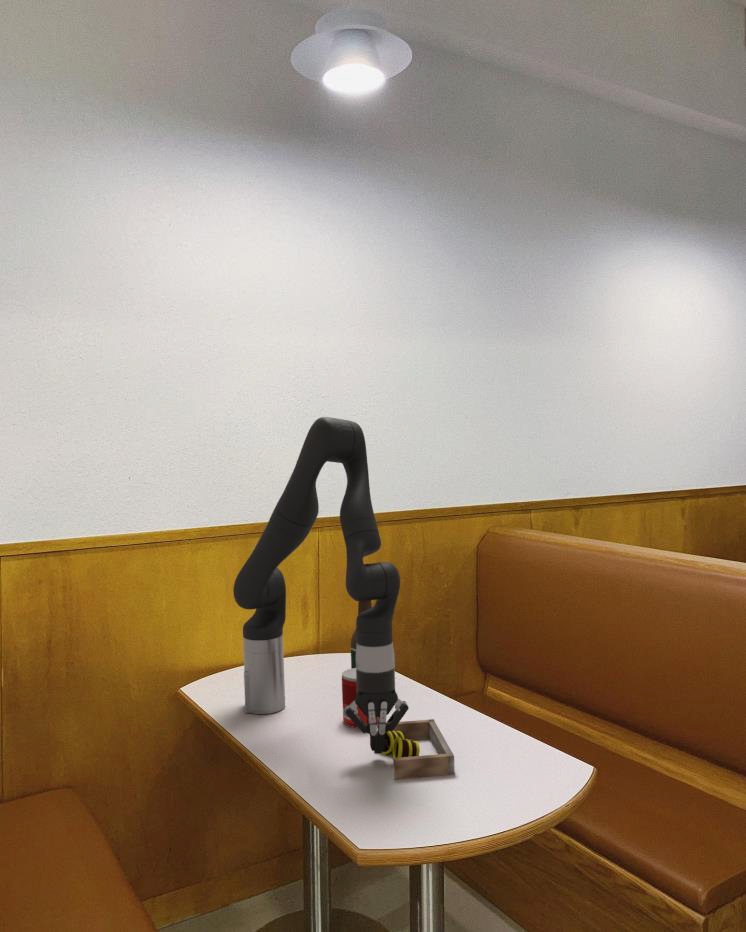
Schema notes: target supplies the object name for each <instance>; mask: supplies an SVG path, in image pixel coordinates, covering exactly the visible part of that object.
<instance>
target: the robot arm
mask: <svg viewBox="0 0 746 932" xmlns="http://www.w3.org/2000/svg"><path fill="white" fill-rule="evenodd" d="M303 441H304V442H303V444H302V446H301V449H300V452H299V455H298V458H297V461H296V463H295V466H294V468H293V471H292V472H291V475H290V476H289V479H288V482H287V484H286V486H285V488H284V490H283V492H282V494H281V496H280V498H279V499H278V501H277V503H276V505H275V506H274V509H273V510H272V513H271V515H270V518H269V520H268V521H267V524H266V526H265V528H264V529H263V532H262V533H261V536H260V537H259V539H258V541H257V543H256V545H255V547H254V549H253V551H252V552H251V553H250V555H249V557H248V558H247V560H246V562H244V564H243V566H242V567H241V568H240V570H239V572H238V574H237V576H236V577H235V580H234V583H233V590H232V591H233V598H234V600H235V603H236V604H237V605H238V607H240V608H242V609H243V610H255V611H254V613H253V615H251V617H250V618H248V620H247V621H245V622H244V624H243V626H242V636H243V637H242V640H243V641H242V642H243V643H242V645H243V666H244V667H243V668H244V669H243V670H244V671H243V683H244V685H243V687H244V689H243V690H244V712H245V714H254V715H268V714H274V713H278V712H280V711H282V710H283V709H284V708H285V707H286V690H285V686H286V685H285V683H286V682H285V662H284V661H285V660H284V658H285V657H284V656H285V655H284V631H283V629H284V625H285V622H286V618H287V617H286V616H287V615H286V614H287V612H286V611H287V609H286V607H287V588H286V580H285V577H284V574H283V573H282V571H281V570H280V569H279V567H278V566H280V565H281V564H282V563H283V561H285V560H286V559H287V558H288V557H290V555H291V554H293V552H294V551H295V550H297V549H298V548H299V546H300V545H302V543H304V541H305V540H306V539H307V537H308V535H309V534H310V532H311V529H312V527H313V526H314V524H315V522H316V520H317V518H318V515H319V512H320V511H319V509H320V508H319V507H320V505H319V499H318V498H319V497H318V492H317V480H318V477H319V475H320V472H321V470H322V468H323V467H324V465H325V464H326V463H327V462H329V463H337V464H339V463H340V464H342V466H343V468H344V471H345V475H346V488H345V491H344V492H345V493H344V495H343V498H342V502H341V505H340V508H339V521H340V527H341V531H342V536H343V540H344V543H345V544H344V545H345V550H346V570H345V589H346V591H347V594H348V596H349V597H350V598H351V599H353V601H355V602H359V601H360V602H361V601H369V600H371V601H375V600H376V601H375V603H374V605H372V608H371V609H369V610H366V611H364V612H362V613H360V614H359V615H358V614H357V616H356V620H355V628H356V629H355V630H356V635H357V647H356V680H357V692H356V695H355V697H354V700H355V701H354V702H352V703H351V704H350V705H346V706H345V712H346V714H347V716H348V717H349V718H350V719H351V720H352V721H353V723H354V724H355V725H356V726H357V727H358V728H357V729H359V730H360V732H361V733H363V734H369V746H370V749H371V751H372V752H373V753H374V755H375V754H376V755H377V754H381V753H382V750H385V734H386V732H388V731H393V730H394V729H395V727H396V726H397V724H398V723H399V722H401V720H402V719H403V717H404V716H405V714H406V713H407V712H408V711H409V705H408V703H407V702H406V700H402V699H400V698H399V696H398V693H397V692H396V675H395V674H396V672H395V669H396V667H395V665H396V659H395V649H394V642H393V640H394V639H393V620H394V614H395V610H396V606H397V602H398V598H399V594H400V587H401V575H400V572H399V570H398V568H397V567H396V566H395V564H393V563H392V562H389V561H382V562H373V563H364V557H367V556H370V555H373V554H375V553H377V552H378V551H379V550H380V549H381V548H382V547H381V546H382V540H381V539H382V538H381V537H380V536H381V535H380V531H379V529H378V524H377V520H376V517H375V513H374V507H373V504H372V498H371V487H370V478H369V476H370V475H369V463H368V452H367V446H366V439H365V435H364V430H363V429H362V427H361V425H360V424H358V423H357V422H356V421H354V420H353V421H352V420H349V419H343V418H336V417H330V416H322V417H319V418H317V419H315V421H314V422H313V423H312V424H311V426H310V428H309V429H308V432H307V434H306V436H305V439H304V440H303ZM357 706H358V707H359V708H360V710H361V711H362V712H363V713H364V715H365V716H367V717H368V723H369V725H368V724H365V723H364V721H363V720H362V719H361V718H360V717H359V716H358V715H357V713H358V710H357ZM393 708H394V709H395V710H394V711H393V712H392V714H391V716H389V718H388V720H387V716H388V715H389V714H390V713H391V711H392V710H393ZM375 717H378V721H377V723H376V719H375Z"/></svg>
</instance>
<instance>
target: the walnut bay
mask: <svg viewBox="0 0 746 932" xmlns="http://www.w3.org/2000/svg"><path fill="white" fill-rule="evenodd" d="M393 731H400V732H402V734H403V735H404V739H407V740H410V739H414V740H422V738H426V739H429V740H430V742H431V744H432V746H433V747H434V750H435V749H436V750H435V752H436V751H437V752H436V753H438V754H427V755H419V756H413V757H401V758H394V759H393V762H394V763H393V767H394V768H393V769H394V774H393V775H394V779H395V780H402V779H414V778H425V777H436V776H446V775H447V776H448V775H456V774H455V773H456V772H455V755H454V753H453V751H452V749H451V747H450V746H449V744H448V742H447V740H446V738H445V737H444V735H443V733H442V732H441V730H440V728H439V726H438V724H437V723H436V721H435V719H433V718H432V719H431V718H430V719H418V720H417V719H416V720H408V721H407V720H405V721H400V722H399V723H398V724H397V726H396V727H395V729H394V730H393ZM410 741H411V740H410Z"/></svg>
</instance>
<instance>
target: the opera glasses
mask: <svg viewBox="0 0 746 932" xmlns="http://www.w3.org/2000/svg"><path fill="white" fill-rule="evenodd" d="M420 751H421V750H420V744H419V742H418V741H417V740H407V739H404V735H403V734H402V732H400V731H388V732H386V734H385V750H382V753H380V754H381V755H389V754H391V753H392V759H393V760H394V758H401V757H413V756H420Z"/></svg>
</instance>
